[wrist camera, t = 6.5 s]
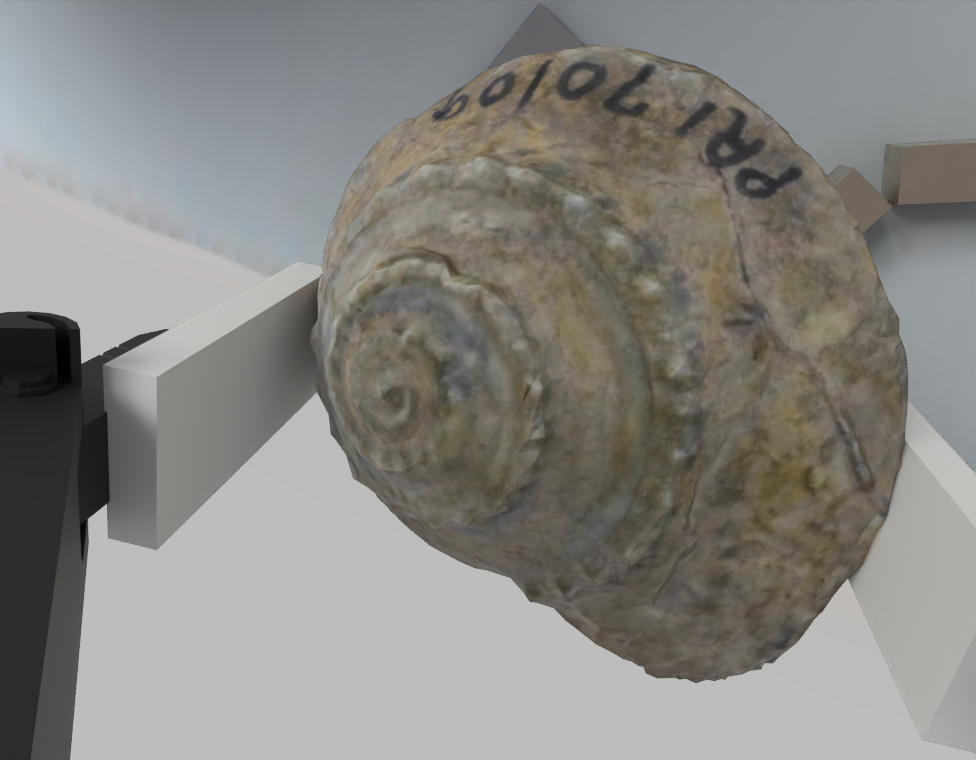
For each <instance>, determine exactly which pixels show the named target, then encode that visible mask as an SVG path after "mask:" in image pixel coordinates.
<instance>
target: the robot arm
mask: <svg viewBox="0 0 976 760" xmlns="http://www.w3.org/2000/svg"><path fill="white" fill-rule="evenodd" d="M322 273H323V271H322V266H318V265H313V264H308V263H303V262H297V263H295V264H293V265H291V266H289V267H287V268H285V269H283V270H281V271H279V272H278V273H276V274H274V275H272V276H270V277H268V278H266V279H264V280H262V281H261V282H259V283H257V284H255V285H253V286H251V287H249V288H247V289H245V290H244V291H242V292H240V293H238V294H236V295H234V296H232V297H230V298H229V299H227V300H225V301H223V302H221V303H219V304H217V305H215V306H213V307H212V308H210V309H208V310H206V311H204V312H202V313H200V314H198V315H197V316H194V317H193V318H191V319H189V320H187V321H185V322H183V323H181V324H179V325H178V326H175V327H174V328H172V329H170V330H168V329H164V330H159V331H155V332H150V333H146V334H141V335H138V336H136V337H134V338H132V339H130V340H128V341H126V342H124V343H122V344H120V345H119V347H114V348H112V349H110V350H108V351H106V352H104V353H103V356H101V355H98V356H96V357H94V358H92V359H91V360H88V361H87V362H85V363H83V364H81V346H80V329H79V327H78V324H77V322H75V321H73V320H71V319H69V318H67V317H64V316H59V315H55V314H50V313H40V312H5V313H0V760H70V752H71V742H72V730H73V717H74V707H75V695H76V683H77V672H78V659H79V648H80V637H81V624H82V613H83V602H84V590H85V578H86V567H87V566H86V565H87V555H88V543H89V540H88V518H89V517H91V516H92V515H93V514H94V513H96V512H97V511H98V510H99V509H101V508H102V507H103V506H104V505H106V504H107V519H108V538H110V539H114V540H118V541H122V542H127V543H130V544H134V545H138V546H142V547H147V548H151V549H155V550H157V549H158V548H159V547H160V546H161V545H162V544H163V543H164V542H165V541H166V540H167V539H168V538H170V537H171V536H172V535H173V534H174V533H175V531H177V530H178V528H180V527H181V526H182V525H183V524H184V523H185V522H186V520H188V519H189V518H190V517H191V516H192V515H193V514H194V513H195V512H196V511H197V510H198V509H199V508H200V507H201V506H202V505H203V504H204V503H205V502H206V501H207V500H208V499H209V498H210V497H211V496H212V495H213V494H214V493H215V492H216V491H217V490H218V489H219V488H220V487H221V486H222V485H223V484H224V483H225V482H226V481H227V480H228V479H229V478H230V477H231V476H232V475H233V474H234V473H235V472H236V471H237V470H238V469H239V468H240V467H241V466H243V465H244V463H246V462H247V461H248V460H249V459H250V457H252V456H253V455H254V454H255V453H256V452H257V451H258V450H259V449H260V448H261V447H262V446H263V445H264V444H265V443H266V442H267V441H268V440H269V439H270V438H271V437H272V436H273V435H274V434H275V433H276V432H277V431H278V430H279V429H280V428H281V427H282V426H283V425H284V424H285V423H286V422H287V421H288V420H289V419H290V418H291V417H292V416H293V415H294V414H295V413H296V412H297V411H298V410H299V409H300V408H301V407H302V406H303V405H304V404H305V403H306V402H307V401H308V400H309V399H310V398H311V397H312V396H313V395H314V394H315V393H317V391H316V389H315V381H316V376H317V370H318V366H317V360H316V355H315V353H314V350H313V348H312V346H311V344H310V337H311V331H312V328H313V326H314V325H315V323H316V322H317V319H318V298H317V295H318V286H319V279H320V275H321V274H322ZM848 579H849V581H850V583H851V586H852V588H853V590H854V592H855V594H856V597H857V599H858V601H859V603H860V606H861V608H862V610H863V612H864V614H865V616H866V619H867V621H868V623H869V625H870V627H871V629H872V632H873V634H874V636H875V638H876V640H877V642H878V645H879V647H880V649H881V651H882V654H883V656H884V658H885V660H886V662H887V665H888V667H889V669H890V671H891V673H892V675H893V678H894V680H895V682H896V684H897V686H898V688H899V690H900V693H901V695H902V697H903V699H904V702H905V704H906V706H907V708H908V710H909V712H910V715H911V717H912V719H913V721H914V723H915V726H916V728H917V730H918V732H919V734H920V737H921V739H923V740H926V741H930V742H934V743H939V744H942V745H947V746H950V747H955V748H959V749H963V750H967V751H971V752H975V753H976V474H975V473H974V472H973V471H972V470H971V469H970V467H969V466H968V465H967V464H966V463H965V462H964V461H963V460H962V459H961V458H960V456H959V455H958V454H957V453H956V452H955V451H954V450H953V449H952V448H951V447H950V446H949V444H948V443H947V442H946V441H945V440H944V439H943V438H942V437H941V436H940V435H939V433H938V432H937V431H936V430H935V429H934V428H933V427H932V426H931V425H930V424H929V423H928V421H927V420H926V419H925V418H924V417H923V416H922V415H921V414H920V413H919V412H918V410H917V409H916V408H915V407H914V406H913V405H912V404H911V403H910V402H909V401H908V408H907V419H906V428H905V443H904V446H903V450H902V465H901V466H900V468H899V469H898V471H897V472H896V473H895V478H894V482H893V487H892V493H891V496H890V502H889V507H888V512H887V516H886V518H885V521H884V524H883V525H882V527H881V528H880V529H879V531H878V532H877V534H876V535H875V537H874V539H873V541H872V543H871V546H870V548H869V551H868V553H867V555H866V557H865V559H864V561H863V563H862V565H861V566H860V567H859V568H858V569H857V570H856V571H855V572H854V573H853V574H852V575H851V576H850V577H849V578H848Z"/></svg>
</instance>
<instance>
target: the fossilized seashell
mask: <svg viewBox="0 0 976 760" xmlns="http://www.w3.org/2000/svg"><path fill="white" fill-rule="evenodd" d="M322 271H323V273H322V274H321V275H320V279H319V286H318V295H317V298H318V319H317V322H316V323H315V325H314V326H313V328H312V331H311V337H310V344H311V346H312V348H313V350H314V353H315V355H316V360H317V366H318V370H317V376H316V381H315V389H316V391H317V393H318V394H319V396H320V398H321V400H322V402H323V404H324V406H325V408H326V410H327V412H328V414H329V421H330V429H331V435H332V436H333V437H334V438H335V439H336V441H337V442H338V444H339V445H340V447H341V448H342V450H343V451H344V452H345V454H346V456H347V459H348V462H349V466H350V469H351V472H352V475H353V478H354V479H355V480H357V481H359V482H360V483H362V484H363V485H365V486H367V487H368V488H370V489H371V490H372V491H373V492H374V493H375V494H376V495H377V497H378V498H379V499H380V500H381V501H382V502H383V503H384V504H385V505H386V506H387V507H388V508H389V510H390V511H391V512H392V513H393V514H395V515H396V516H397V517H398V519H399V520H401V522H402V523H404V524H405V525H406V526H407V527H408V528H409V529H410V530H411V531H413V532H414V533H415V534H417V535H418V536H419V537H420V538H422V539H423V540H424V541H425V542H426V543H428V544H429V545H430V546H432V547H434V548H436V549H437V550H439V551H441V552H443V553H445V554H447V555H449V556H450V557H452V558H454V559H456V560H458V561H460V562H462V563H465V564H467V565H469V566H471V567H474V568H477V569H483V570H488V571H491V572H494V573H497V574H500V575H503V576H506V577H509V578H511V579H512V580H513V581H514V582H515V584H516V585H517V586H518V587H519V588H520V589H521V590H522V591H523V592H524V594H525V595H526V597H527V598H528V600H529V601H530V602H537V603H540V604H543V605H546V606H549V607H552V608H554V609H555V610H556V611H557V612H558V613H559V614H560V615H561V616H562V617H563V618H564V619H565V620H566V621H567V622H569V623H570V624H571V625H572V626H574V627H575V628H576V629H578V630H579V631H580V632H581V633H583V634H584V635H585V636H587V637H588V638H589V639H590V640H592V641H593V642H594V643H595V644H597V645H599V646H601V647H603V648H605V649H607V650H609V651H611V652H612V653H614V654H616V655H617V656H619V657H621V658H622V659H625V660H629V661H632V662H633V663H635V664H637V665H638V666H642V667H644V669H645V672H646V674H649V675H651V676H653V677H656V678H678V679H688V680H690V681H692V682H695V683H697V682H701V681H704V680H713V681H716V680H719V679H724V680H725V679H726V678H727V677H728V676H734V675H740V674H743V673H746V672H748V671H751V670H758V669H761V668H762V666H763V665H764V664H765V663H774V662H775V660H776V659H777V658H779V657H780V656H781V655H782V654H783V653H784V652H786V651H787V650H788V649H789V648H791V647H792V646H793V645H795V644H796V643H797V642H798V641H799V640H800V638H801V637H802V635H803V634H804V632H805V631H806V630H807V628H808V627H809V626H810V624H811V623H812V622H813V620H814V619H815V618H816V617H817V616H818V615H819V614H820V613H821V612H822V611H823V610H824V608H825V607H826V605H827V604H828V603H829V601H830V600H831V598H832V597H833V595H834V594H835V593H836V592H837V590H838V589H839V588H840V587H841V586H842V584H843V583H844V582H845V581H846V580H847V579H848V578H849V577H850V576H851V575H852V574H853V573H854V572H855V571H856V570H857V569H858V568H859V567H860V566H861V565H862V563H863V561H864V559H865V557H866V555H867V553H868V551H869V548H870V546H871V543H872V541H873V539H874V537H875V535H876V534H877V532H878V531H879V529H880V528H881V527H882V525H883V524H884V521H885V518H886V516H887V512H888V507H889V502H890V496H891V493H892V487H893V482H894V478H895V473H896V472H897V471H898V469H899V468H900V466H901V465H902V450H903V446H904V443H905V428H906V419H907V408H908V370H907V358H906V352H905V349H904V346H903V343H902V341H901V338H900V336H899V318H898V316H897V314H896V312H895V311H894V309H893V307H892V305H891V304H890V302H889V300H888V298H887V296H886V293H885V291H884V288H883V286H882V283H881V281H880V278H879V275H878V272H877V269H876V267H875V264H874V261H873V258H872V255H871V253H870V250H869V248H868V246H867V243H866V241H865V238H864V236H863V234H862V233H861V231H860V229H859V226H858V223H857V221H856V220H855V219H854V218H853V217H852V215H851V214H850V213H849V211H848V209H847V208H846V206H845V204H844V202H843V201H842V199H841V196H840V194H839V193H838V192H837V190H836V189H835V187H834V186H833V184H832V183H831V182H830V180H829V179H828V177H827V176H826V174H825V173H824V171H823V170H822V169H821V167H820V166H819V165H818V164H817V163H816V161H815V160H814V159H813V158H812V157H811V156H810V155H809V154H808V153H807V152H806V151H805V150H803V149H802V148H801V147H799V146H798V145H797V144H795V142H794V141H793V139H792V138H791V137H790V135H789V134H788V132H787V131H786V130H785V129H784V128H782V127H781V126H780V125H779V124H778V123H777V122H776V121H775V120H774V119H773V118H771V117H770V116H769V115H768V114H766V113H765V112H764V111H763V110H761V109H760V108H759V107H758V106H756V105H755V104H754V103H753V102H751V101H750V100H749V99H748V98H746V97H745V96H744V95H743V94H741V93H739V92H738V91H736V90H735V89H733V88H732V87H730V86H729V85H728V84H726V83H725V82H724V81H722V80H721V79H720V78H718V77H717V76H715V75H713V74H710V73H708V72H706V71H704V70H702V69H700V68H698V67H696V66H693V65H689V64H685V63H681V62H676V61H672V60H669V59H666V58H663V57H659V56H656V55H653V54H650V53H647V52H642V51H638V50H633V49H629V48H624V47H619V46H618V47H602V46H594V45H590V46H583V47H576V48H571V49H565V50H560V51H553V52H547V53H541V54H534V55H527V56H522V57H519V58H516V59H514V60H511V61H509V62H506V63H504V64H502V65H501V66H498V67H496V68H493V69H490V70H488V71H485V72H483V73H481V74H480V75H479V76H478V77H476V78H475V79H474V80H473V81H471V82H470V83H468V84H467V85H465V86H463V87H461V88H460V89H458V90H456V91H455V92H453V93H452V94H450V95H448V96H447V97H445V98H444V99H442V100H440V101H439V102H437V103H435V104H434V105H433V106H432V107H430V108H429V109H428V110H426V111H425V112H424V113H422V114H421V115H419V116H418V117H415V118H411V119H407V120H404V121H403V122H401V123H400V124H398V125H397V126H395V127H394V128H392V129H391V130H390V131H388V132H387V133H385V134H384V135H383V136H381V138H380V139H379V140H378V141H377V142H376V144H375V145H374V146H373V147H372V149H371V150H370V151H369V153H368V154H367V155H366V157H365V158H364V160H363V161H362V163H361V164H360V166H359V167H358V168H357V169H356V170H355V171H354V173H353V175H352V177H351V178H350V180H349V182H348V184H347V186H346V188H345V191H344V194H343V196H342V199H341V202H340V204H339V207H338V210H337V213H336V215H335V217H334V218H333V221H332V223H331V226H330V230H329V233H328V237H327V241H326V244H325V247H324V251H323V263H322Z"/></svg>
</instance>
